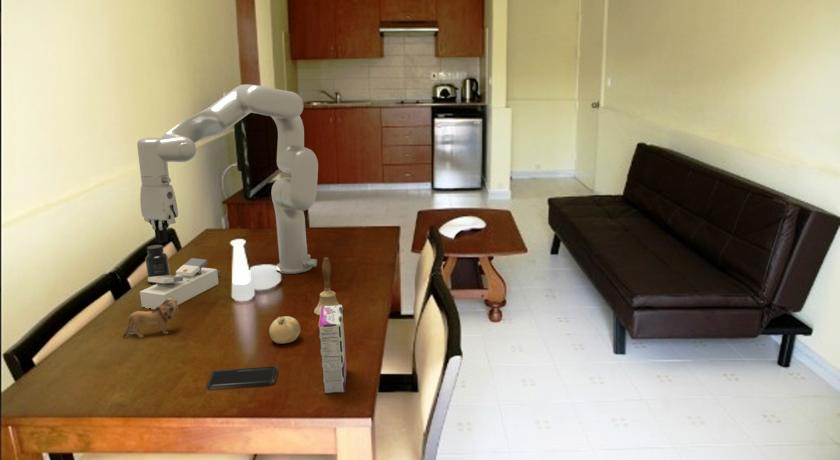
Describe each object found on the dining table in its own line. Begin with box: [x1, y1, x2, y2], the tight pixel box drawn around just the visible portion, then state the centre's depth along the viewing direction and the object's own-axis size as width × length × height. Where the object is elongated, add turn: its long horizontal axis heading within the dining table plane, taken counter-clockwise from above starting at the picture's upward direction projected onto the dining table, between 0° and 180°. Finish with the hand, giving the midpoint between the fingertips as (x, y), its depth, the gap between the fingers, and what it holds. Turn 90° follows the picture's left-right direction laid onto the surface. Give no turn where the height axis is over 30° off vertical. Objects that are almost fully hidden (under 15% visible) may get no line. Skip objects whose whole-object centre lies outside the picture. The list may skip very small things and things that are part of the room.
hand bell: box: [313, 256, 344, 317], centre depth 186 cm, size 8×8×16 cm
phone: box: [206, 366, 279, 390], centre depth 150 cm, size 8×1×15 cm
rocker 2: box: [175, 257, 209, 276], centre depth 206 cm, size 6×8×2 cm
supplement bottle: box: [145, 244, 171, 285], centre depth 214 cm, size 7×7×12 cm
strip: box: [139, 267, 221, 310], centre depth 205 cm, size 9×30×6 cm, turn 159°
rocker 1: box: [147, 274, 183, 284], centre depth 196 cm, size 6×8×2 cm
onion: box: [268, 315, 301, 345], centre depth 168 cm, size 8×8×7 cm
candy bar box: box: [318, 304, 348, 394], centre depth 145 cm, size 11×5×16 cm, turn 5°
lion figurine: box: [122, 298, 179, 338], centre depth 174 cm, size 15×5×9 cm, turn 115°
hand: (162, 241), depth 194 cm, fingers closed
